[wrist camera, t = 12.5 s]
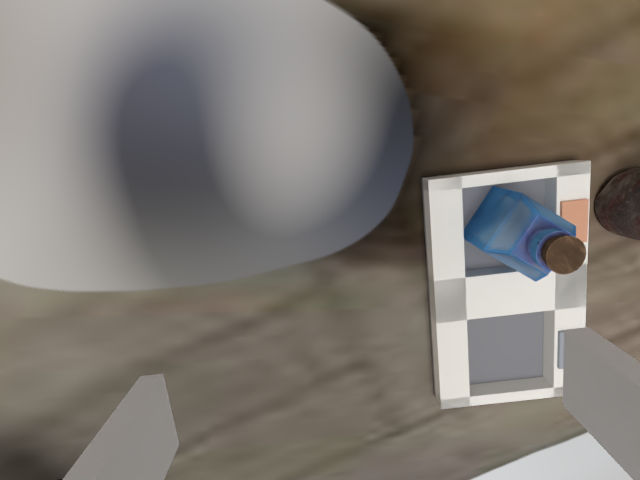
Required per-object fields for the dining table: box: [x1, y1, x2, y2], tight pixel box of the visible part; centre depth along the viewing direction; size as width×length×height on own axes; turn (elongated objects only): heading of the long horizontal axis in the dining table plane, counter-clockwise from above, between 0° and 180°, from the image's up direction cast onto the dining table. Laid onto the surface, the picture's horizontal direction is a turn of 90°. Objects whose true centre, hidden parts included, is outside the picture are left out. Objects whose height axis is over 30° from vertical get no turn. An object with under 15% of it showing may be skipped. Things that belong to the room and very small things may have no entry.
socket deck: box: [421, 160, 591, 409], centre depth 45 cm, size 26×16×3 cm, turn 7°
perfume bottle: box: [464, 186, 586, 282], centre depth 38 cm, size 6×6×12 cm
